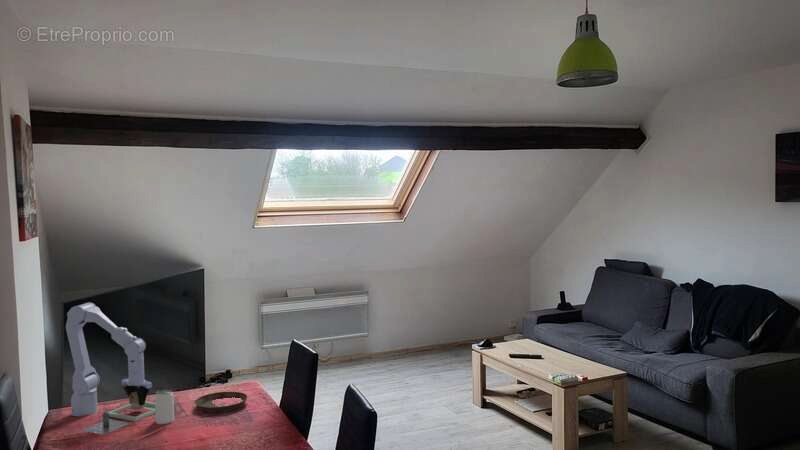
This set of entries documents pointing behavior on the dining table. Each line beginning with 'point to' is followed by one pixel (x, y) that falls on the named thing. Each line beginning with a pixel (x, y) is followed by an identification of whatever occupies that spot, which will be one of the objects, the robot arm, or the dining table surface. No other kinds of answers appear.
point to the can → (164, 406)
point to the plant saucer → (206, 400)
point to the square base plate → (105, 425)
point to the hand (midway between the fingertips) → (137, 404)
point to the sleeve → (135, 401)
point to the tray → (147, 406)
